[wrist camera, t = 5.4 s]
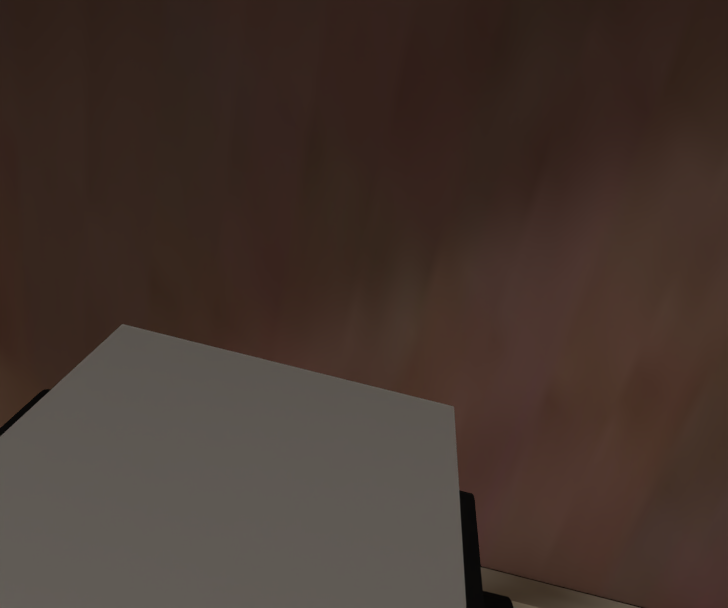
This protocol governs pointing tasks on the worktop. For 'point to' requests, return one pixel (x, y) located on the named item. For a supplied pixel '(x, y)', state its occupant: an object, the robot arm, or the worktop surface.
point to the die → (226, 487)
